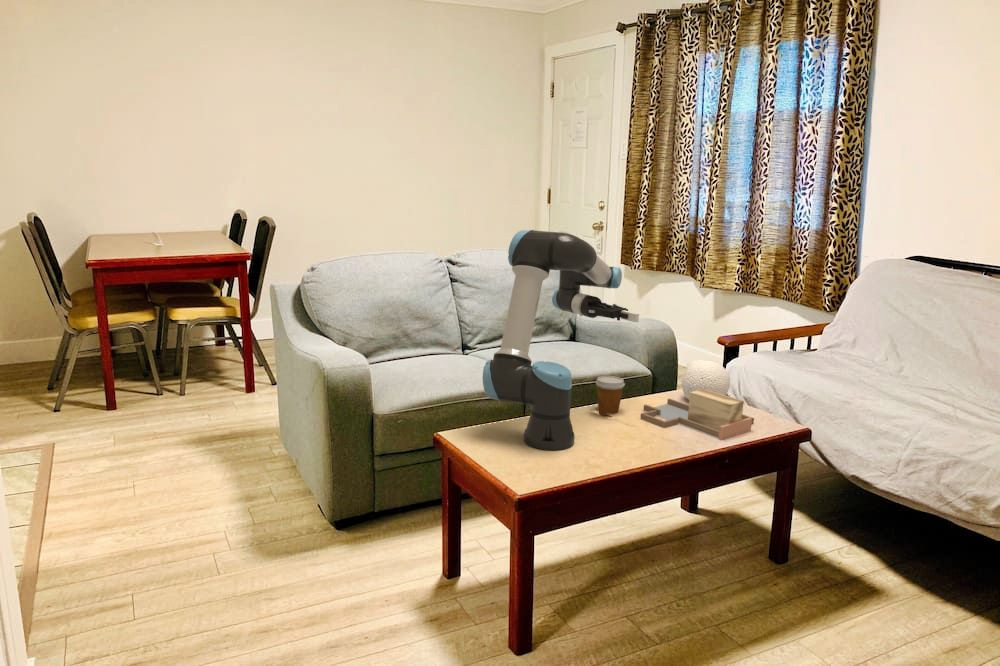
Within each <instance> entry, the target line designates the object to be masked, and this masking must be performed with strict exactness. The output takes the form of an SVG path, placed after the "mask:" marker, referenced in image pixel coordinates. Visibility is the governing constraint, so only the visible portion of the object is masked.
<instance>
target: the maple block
mask: <svg viewBox="0 0 1000 666" xmlns="http://www.w3.org/2000/svg"><path fill="white" fill-rule="evenodd" d="M744 403H745V400H741V399H739V398H735V397H731V396H728V395H727V394H726V395H722V394H719V393H716V392H713V391H709V390H706V389H701V390H697V391H693V392H690V399H688V405H689V410H688V420H691V421H693V422H696V423H699V424H702V425H705V426H707V427H710V428H713V429H716V430H719V427H720V426H723V425H726V424H729V423H733V422H736V421H739V420H742V414H743V411H744Z"/></svg>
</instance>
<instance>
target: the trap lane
mask: <svg viewBox="0 0 1000 666" xmlns="http://www.w3.org/2000/svg"><path fill="white" fill-rule="evenodd" d="M688 410H689V404H687V403H684V402H681V401H678V400H675V399H673V398H667V402H666V404H661V405H657V406H651V405H649V404H644V405H643V409H642V410H641V412H642V413H640V417H639V418H640V420H642V421H643V422H644V421H645V422H647V423H650V424H653V425H655V426H658V427H661V428H664V429H667V428H669V427H673V426H676V425H679V426H682V427H684V428H686V429H687V428H688V429H690V430H692V431H695V432H697V433H701V434H703V435H706V436H709V437H711V438H715V439H716V440H720V441H723V440H726V439H730V438H732V437H735V436H737V435H741V434H744V433H748V432H751V430H752V425H753V424H754V423H755V422H754V421H755V418H754V417H752V416H748V415H746V414H743V413H742V420H739V421H736V422H733V423H729V424H726V425H723V426H720V427H719V430H716V429H713V428H710V427H707V426H705V425H702V424H699V423H696V422H693V421H691V420H688ZM660 418H661V419H660Z"/></svg>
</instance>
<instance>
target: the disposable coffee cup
mask: <svg viewBox="0 0 1000 666" xmlns="http://www.w3.org/2000/svg"><path fill="white" fill-rule="evenodd" d="M595 385H596V389H597V390H596V393H597V394H596V396H597V407H598V408H597V409H598V414H599V416H602V417H605V418H613V417H614V416H612V415H614V414H618V413H619V410H620V406H621V399H622V396H623V389H624V388H625V385H626V383H625V382H624V378H621V377H619V376H613V375H601V376H598V377H597V379H596V381H595Z"/></svg>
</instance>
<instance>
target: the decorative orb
mask: <svg viewBox="0 0 1000 666" xmlns="http://www.w3.org/2000/svg"><path fill="white" fill-rule="evenodd" d="M730 386H731V378H730V374H729V373H728V371H727V369H726V368H725V367H724V366H722V364H720V363H718V362H715V361H713V360H706V359H694V360H693V359H692V361H690V362H688V364H687V365H686V368H685V370H684V372H683V375H682V378H681V388H682V389H681V390H682V392H683V395H684V396H685V398H686V399H688V400H689V399H690V392H693V391H697V390H701V389H706V390H709V391H713V392H716V393H719V394H722V395H726V396H727V394H728V392H729V390H730Z"/></svg>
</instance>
